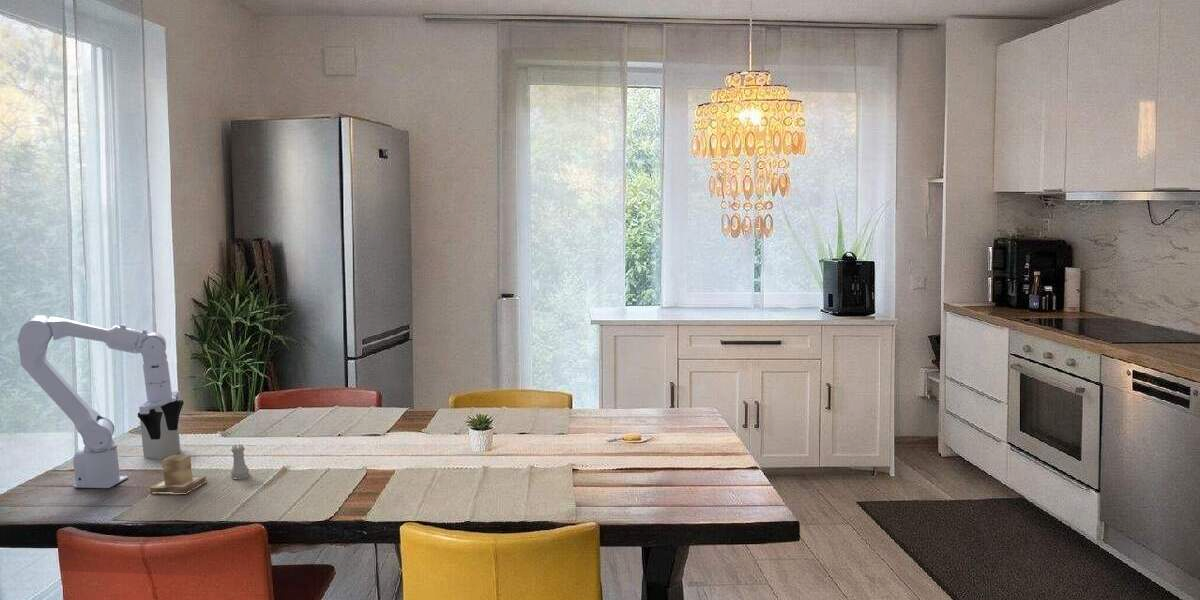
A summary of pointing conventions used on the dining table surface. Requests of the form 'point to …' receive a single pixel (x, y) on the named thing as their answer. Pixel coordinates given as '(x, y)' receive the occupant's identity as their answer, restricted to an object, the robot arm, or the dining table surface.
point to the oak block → (177, 469)
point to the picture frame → (179, 488)
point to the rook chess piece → (239, 462)
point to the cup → (160, 440)
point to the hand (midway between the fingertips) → (164, 434)
